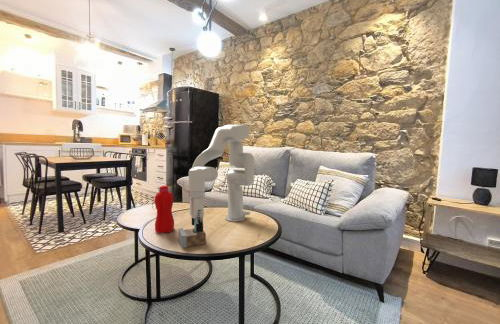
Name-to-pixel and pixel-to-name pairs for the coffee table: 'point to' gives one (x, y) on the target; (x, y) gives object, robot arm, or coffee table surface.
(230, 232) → the coffee table surface
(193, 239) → the block
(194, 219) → the dowel
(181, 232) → the wall
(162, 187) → the water bottle
